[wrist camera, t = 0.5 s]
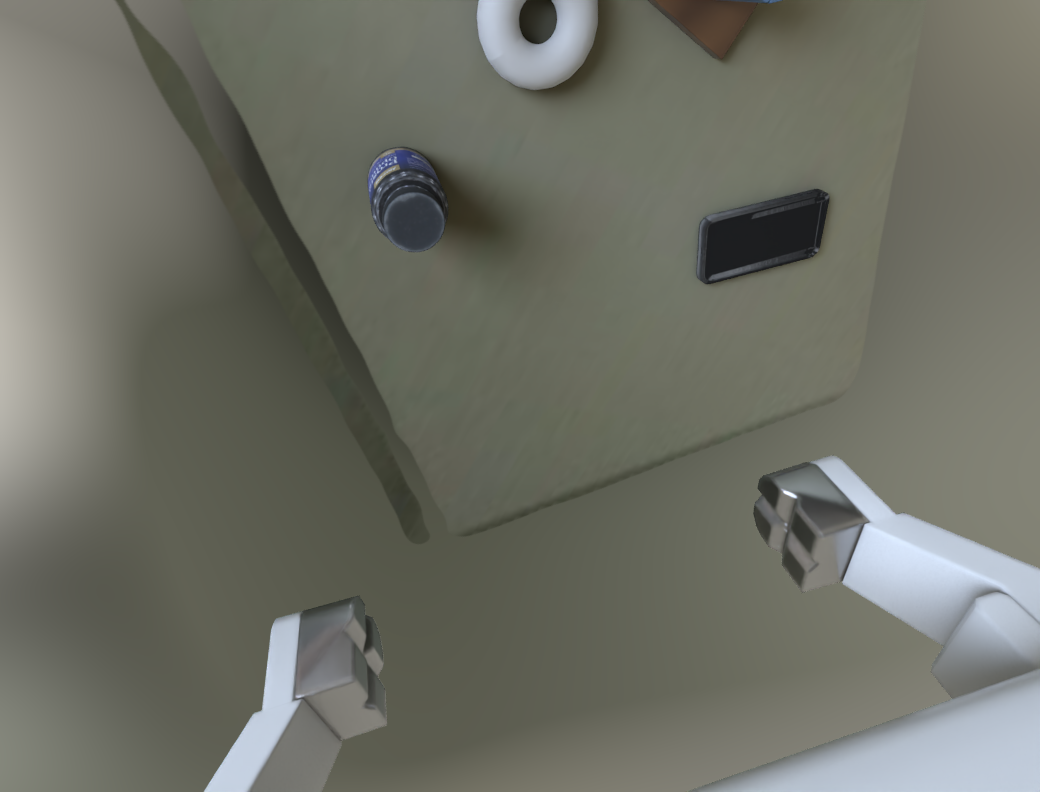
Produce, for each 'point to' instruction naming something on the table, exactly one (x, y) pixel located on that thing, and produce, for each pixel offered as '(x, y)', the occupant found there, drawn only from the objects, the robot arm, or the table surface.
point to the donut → (536, 61)
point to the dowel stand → (708, 21)
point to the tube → (757, 1)
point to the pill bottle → (407, 199)
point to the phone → (761, 236)
